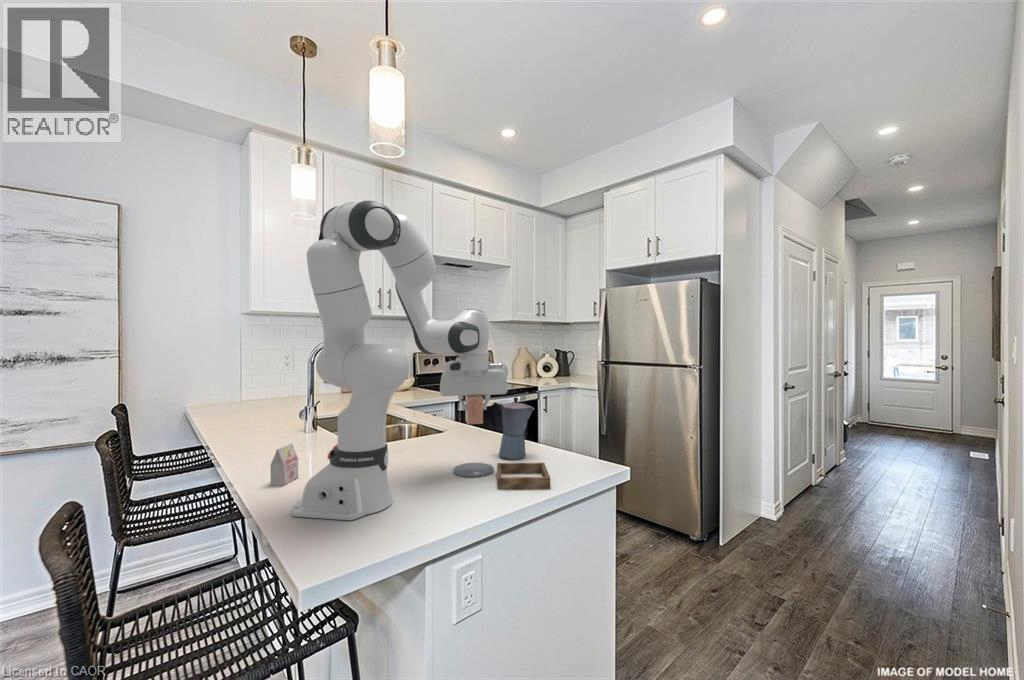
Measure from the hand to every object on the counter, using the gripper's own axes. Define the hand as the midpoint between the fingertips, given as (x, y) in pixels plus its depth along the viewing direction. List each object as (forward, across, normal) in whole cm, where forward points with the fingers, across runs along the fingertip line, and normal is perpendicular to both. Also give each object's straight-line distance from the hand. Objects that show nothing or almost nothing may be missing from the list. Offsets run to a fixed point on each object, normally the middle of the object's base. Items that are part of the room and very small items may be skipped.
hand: (474, 409), depth 134 cm
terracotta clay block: (+4, 0, 0) cm, 4 cm away
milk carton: (+18, +53, -1) cm, 56 cm away
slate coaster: (+18, 0, 0) cm, 19 cm away
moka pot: (+19, -14, -13) cm, 27 cm away
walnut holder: (+18, -12, +11) cm, 25 cm away
